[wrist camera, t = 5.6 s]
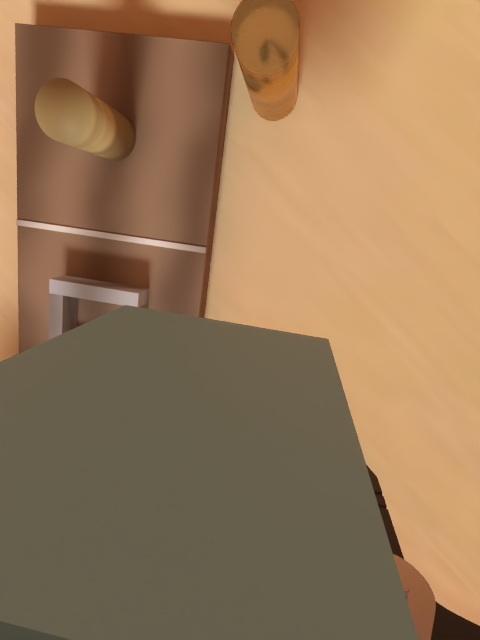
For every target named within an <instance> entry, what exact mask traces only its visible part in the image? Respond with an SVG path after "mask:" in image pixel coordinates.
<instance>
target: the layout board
mask: <svg viewBox="0 0 480 640" xmlns="http://www.w3.org/2000/svg"><path fill="white" fill-rule="evenodd" d="M15 46H16V133H17V219H18V220H17V225H18V305H19V353H22V352H24V351H26V350H28V349H30V348H32V347H35V346H37V345H39V344H41V343H43V342H46V341H48V340H50V339H52V338H54V337H56V336H59V335H61V334H63V333H65V332H67V331H70V330H72V329H74V328H76V327H78V326H81V325H83V324H85V323H87V322H89V321H91V320H94V319H96V318H98V317H100V316H102V315H105V314H107V313H109V312H111V311H113V310H115V309H118V308H120V307H122V306H124V305H129V306H135V307H141V308H147V309H153V310H159V311H165V312H171V313H176V314H182V315H188V316H194V317H200V318H204V313H205V304H206V295H207V287H208V278H209V269H210V261H211V252H212V243H213V234H214V226H215V217H216V208H217V200H218V191H219V182H220V173H221V165H222V156H223V147H224V139H225V130H226V121H227V112H228V104H229V95H230V86H231V78H232V69H233V60H234V57H233V54H232V51H231V48H230V45H229V43H218V42H208V41H197V40H187V39H176V38H166V37H155V36H145V35H134V34H124V33H113V32H103V31H92V30H82V29H71V28H61V27H50V26H40V25H29V24H19V23H15Z"/></svg>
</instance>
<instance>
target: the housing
mask: <svg viewBox="0 0 480 640" xmlns="http://www.w3.org/2000/svg"><path fill="white" fill-rule="evenodd" d="M0 640H419V639H418V636H417V633H416V629H415V626H414V623H413V619H412V616H411V613H410V609H409V606H408V603H407V599H406V596H405V593H404V590H403V586H402V583H401V580H400V576H399V573H398V570H397V566H396V563H395V560H394V556H393V553H392V550H391V546H390V543H389V540H388V536H387V533H386V530H385V526H384V523H383V520H382V516H381V513H380V510H379V506H378V503H377V500H376V496H375V493H374V490H373V486H372V483H371V480H370V476H369V473H368V470H367V466H366V463H365V460H364V456H363V453H362V450H361V446H360V443H359V440H358V436H357V433H356V430H355V427H354V423H353V420H352V417H351V413H350V410H349V407H348V403H347V400H346V397H345V393H344V390H343V387H342V383H341V380H340V377H339V373H338V370H337V367H336V363H335V360H334V357H333V353H332V350H331V347H330V343H329V340H328V339H325V338H319V337H313V336H307V335H301V334H295V333H289V332H283V331H277V330H271V329H265V328H259V327H253V326H248V325H242V324H236V323H230V322H224V321H218V320H212V319H206V318H200V317H194V316H188V315H182V314H176V313H171V312H165V311H159V310H153V309H147V308H141V307H135V306H129V305H124V306H122V307H120V308H118V309H115V310H113V311H111V312H109V313H107V314H105V315H102V316H100V317H98V318H96V319H94V320H91V321H89V322H87V323H85V324H83V325H81V326H78V327H76V328H74V329H72V330H70V331H67V332H65V333H63V334H61V335H59V336H56V337H54V338H52V339H50V340H48V341H46V342H43V343H41V344H39V345H37V346H35V347H32V348H30V349H28V350H26V351H24V352H22V353H19V354H17V355H15V356H13V357H11V358H8V359H6V360H4V361H2V362H0Z"/></svg>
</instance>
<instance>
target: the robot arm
mask: <svg viewBox="0 0 480 640" xmlns="http://www.w3.org/2000/svg"><path fill="white" fill-rule="evenodd" d="M366 466H367V465H366ZM367 470H368V473H369V476H370V480H371V483H372V486H373V490H374V493H375V496H376V500H377V503H378V506H379V510H380V513H381V516H382V520H383V523H384V526H385V530H386V533H387V536H388V540H389V543H390V546H391V550H392V553H393V556H394V560H395V563H396V566H397V570H398V573H399V576H400V580H401V583H402V586H403V590H404V593H405V596H406V599H407V603H408V606H409V609H410V613H411V616H412V619H413V623H414V626H415V629H416V633H417V636H418V639H419V640H480V626H478V625H476V624H474V623H472V622H470V621H468V620H466V619H464V618H462V617H460V616H458V615H456V614H455V613H453V612H451V611H449V610H447V609H446V608H444V607H443V606H441V605H440V604H438V603H437V602H436V601H435V597H434V594H433V592H432V589H431V588H430V586H429V584H428V582H427V581H426V580H425V578H424V577H423V576H422V575H421V574H420V573H419V571H418V570H416V569H415V568H414V567H413V566H412V565H411V564H409V563H408V562H407V561H405V560H404V558H403V555H402V552H401V548H400V545H399V542H398V539H397V536H396V533H395V530H394V527H393V524H392V521H391V518H390V515H389V512H388V510H387V509H386V503H385V500H384V497H383V496H382V491H381V488H380V485H379V482H378V479H377V477H376V475H375V474H374V473H373V472H372V471H371V470H370V468H369V467H368V466H367Z"/></svg>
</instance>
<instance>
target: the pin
mask: <svg viewBox="0 0 480 640" xmlns="http://www.w3.org/2000/svg"><path fill="white" fill-rule="evenodd" d="M231 38H232V43H233V46H234V49H235V52H236V55H237V58H238V61H239V64H240V67H241V70H242V73H243V76H244V79H245V82H246V85H247V89H248V92H249V95H250V98H251V101H252V104H253V107H254V109H255V111H256V112H257V113H258V115H260V116H261V117H262V118H264V119H266V120H270V121H277V120H280V119H283V118H284V117H286V116H287V115H288V114H289V113H290V112H291V111H292V110H293V108H294V106H295V104H296V100H297V85H298V53H299V17H298V13H297V10H296V7H295V6H294V4H293V2H292V1H291V0H242V2H241V3H240V4H239V6H238V7H237V9H236V11H235V13H234V15H233V19H232V23H231Z"/></svg>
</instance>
